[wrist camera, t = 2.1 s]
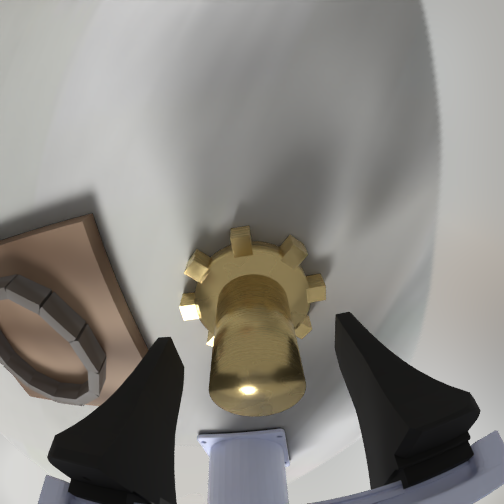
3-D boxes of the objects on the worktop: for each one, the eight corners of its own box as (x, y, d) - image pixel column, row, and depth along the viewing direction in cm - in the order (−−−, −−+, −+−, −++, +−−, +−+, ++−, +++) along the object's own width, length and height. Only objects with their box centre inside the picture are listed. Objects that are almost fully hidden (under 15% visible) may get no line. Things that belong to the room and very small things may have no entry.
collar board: (174, 396, 21) (169, 425, 18) (34, 387, 21) (24, 407, 19) (92, 213, 14) (66, 234, 11) (-44, 256, 15) (-64, 273, 12)
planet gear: (322, 331, 18) (349, 422, 12) (202, 347, 18) (190, 440, 12) (316, 215, 14) (366, 294, 8) (166, 239, 15) (122, 327, 9)
